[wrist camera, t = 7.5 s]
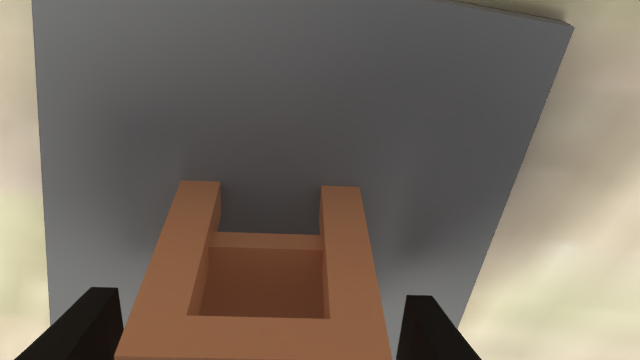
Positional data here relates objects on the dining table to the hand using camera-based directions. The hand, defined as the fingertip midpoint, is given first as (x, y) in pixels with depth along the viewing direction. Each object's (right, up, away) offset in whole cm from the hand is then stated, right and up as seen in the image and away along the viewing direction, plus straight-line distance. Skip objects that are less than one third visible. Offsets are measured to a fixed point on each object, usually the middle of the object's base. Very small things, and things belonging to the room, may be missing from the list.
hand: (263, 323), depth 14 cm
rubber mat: (0, +2, +3) cm, 3 cm away
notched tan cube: (0, +1, +2) cm, 3 cm away
